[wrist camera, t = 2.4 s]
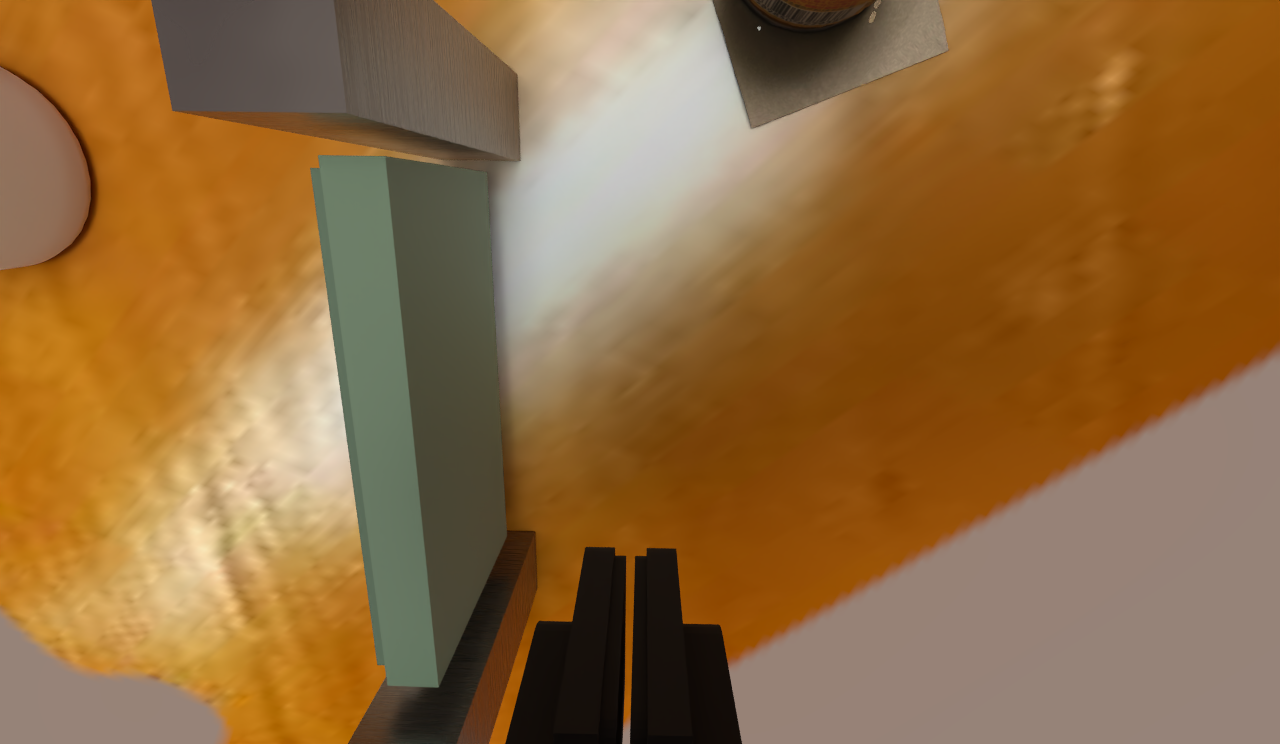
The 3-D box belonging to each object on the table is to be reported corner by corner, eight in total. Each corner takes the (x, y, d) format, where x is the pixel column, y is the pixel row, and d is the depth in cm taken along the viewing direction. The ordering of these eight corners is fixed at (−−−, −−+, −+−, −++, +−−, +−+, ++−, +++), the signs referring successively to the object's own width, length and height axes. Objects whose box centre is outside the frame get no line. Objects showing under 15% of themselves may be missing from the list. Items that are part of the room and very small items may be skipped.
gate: (507, 536, 25) (438, 687, 17) (459, 534, 25) (370, 684, 17) (486, 172, 21) (385, 156, 13) (430, 171, 21) (296, 155, 13)
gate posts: (516, 74, 22) (321, -98, 9) (537, 587, 28) (438, 904, 15) (435, 73, 22) (131, -99, 9) (474, 585, 28) (324, 899, 15)
